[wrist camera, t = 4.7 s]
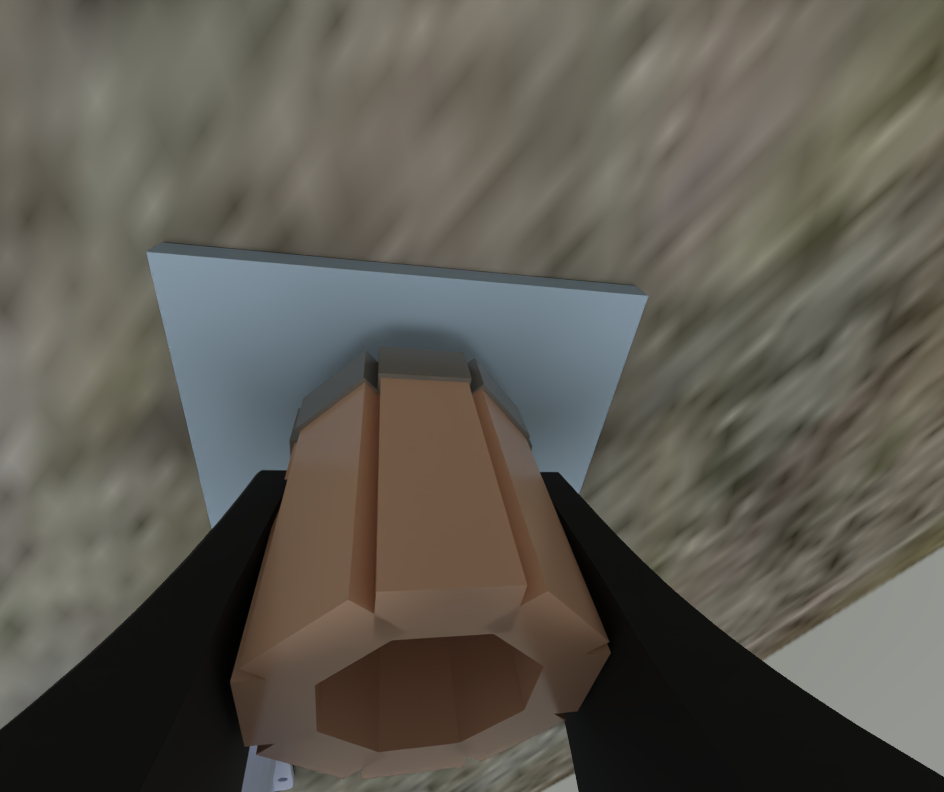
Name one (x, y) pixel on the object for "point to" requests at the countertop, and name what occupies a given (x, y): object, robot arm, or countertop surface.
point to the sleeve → (412, 580)
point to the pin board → (376, 347)
